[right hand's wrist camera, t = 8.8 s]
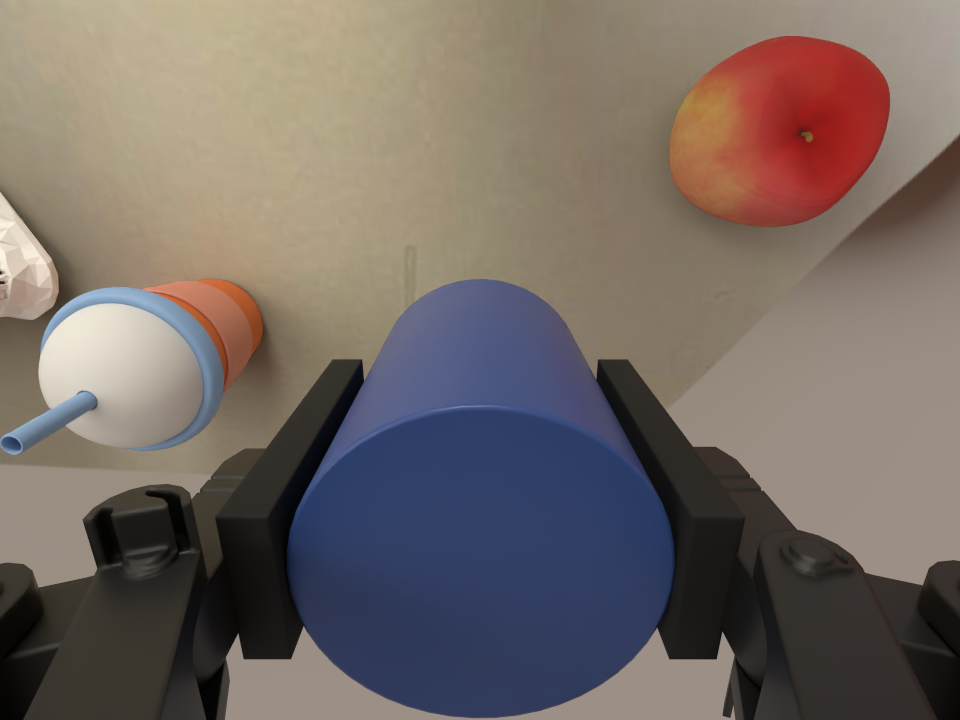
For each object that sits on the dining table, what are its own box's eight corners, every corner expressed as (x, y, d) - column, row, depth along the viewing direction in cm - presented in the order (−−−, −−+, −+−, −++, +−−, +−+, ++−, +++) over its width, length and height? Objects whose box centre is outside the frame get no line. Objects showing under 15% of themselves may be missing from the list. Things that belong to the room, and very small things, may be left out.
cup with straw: (270, 397, 40) (116, 566, 23) (146, 358, 39) (-112, 505, 22) (298, 282, 37) (145, 379, 20) (164, 237, 36) (-115, 299, 19)
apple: (739, 20, 32) (849, -43, 22) (830, 140, 34) (965, 129, 25) (617, 146, 34) (670, 137, 25) (710, 250, 36) (791, 279, 27)
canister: (410, 478, 18) (351, 743, 10) (355, 303, 16) (224, 452, 8) (593, 444, 17) (692, 690, 9) (562, 258, 15) (655, 365, 7)
